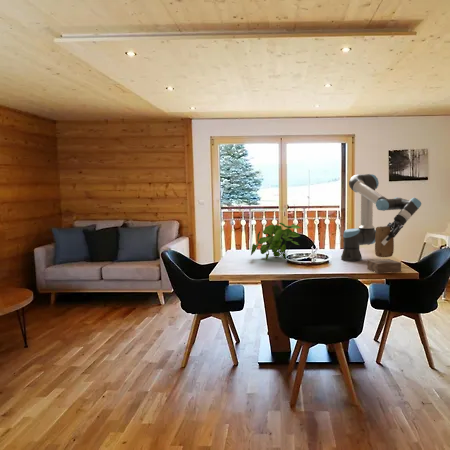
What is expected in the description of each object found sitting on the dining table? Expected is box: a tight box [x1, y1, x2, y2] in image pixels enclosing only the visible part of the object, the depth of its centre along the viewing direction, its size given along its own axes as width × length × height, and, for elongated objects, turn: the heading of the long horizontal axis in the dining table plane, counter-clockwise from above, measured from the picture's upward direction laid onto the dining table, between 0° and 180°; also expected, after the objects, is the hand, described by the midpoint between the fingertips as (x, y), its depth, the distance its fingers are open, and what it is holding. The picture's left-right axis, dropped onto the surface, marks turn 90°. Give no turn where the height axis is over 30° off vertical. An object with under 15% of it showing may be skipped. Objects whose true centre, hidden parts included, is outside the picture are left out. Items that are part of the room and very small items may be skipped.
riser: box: [366, 258, 402, 274], centre depth 272 cm, size 14×16×6 cm
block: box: [374, 225, 395, 258], centre depth 270 cm, size 11×8×20 cm
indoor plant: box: [250, 222, 303, 261], centre depth 322 cm, size 44×42×30 cm
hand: (379, 243), depth 270 cm, fingers closed on block, 7 cm apart
